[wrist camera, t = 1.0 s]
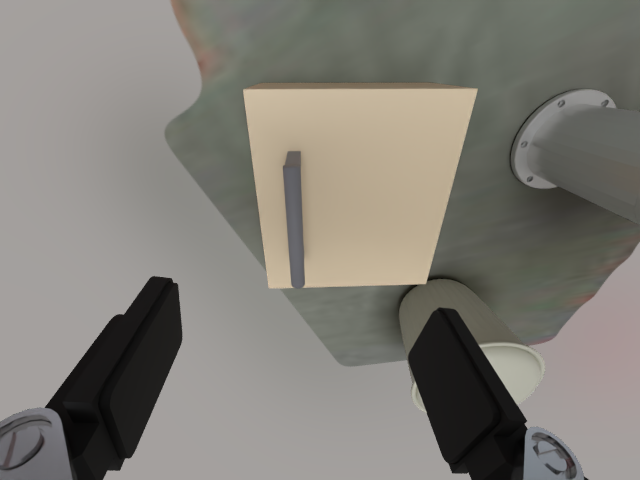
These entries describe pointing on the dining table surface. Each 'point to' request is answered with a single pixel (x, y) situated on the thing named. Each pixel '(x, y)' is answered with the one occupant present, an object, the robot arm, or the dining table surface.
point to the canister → (486, 327)
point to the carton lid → (354, 180)
